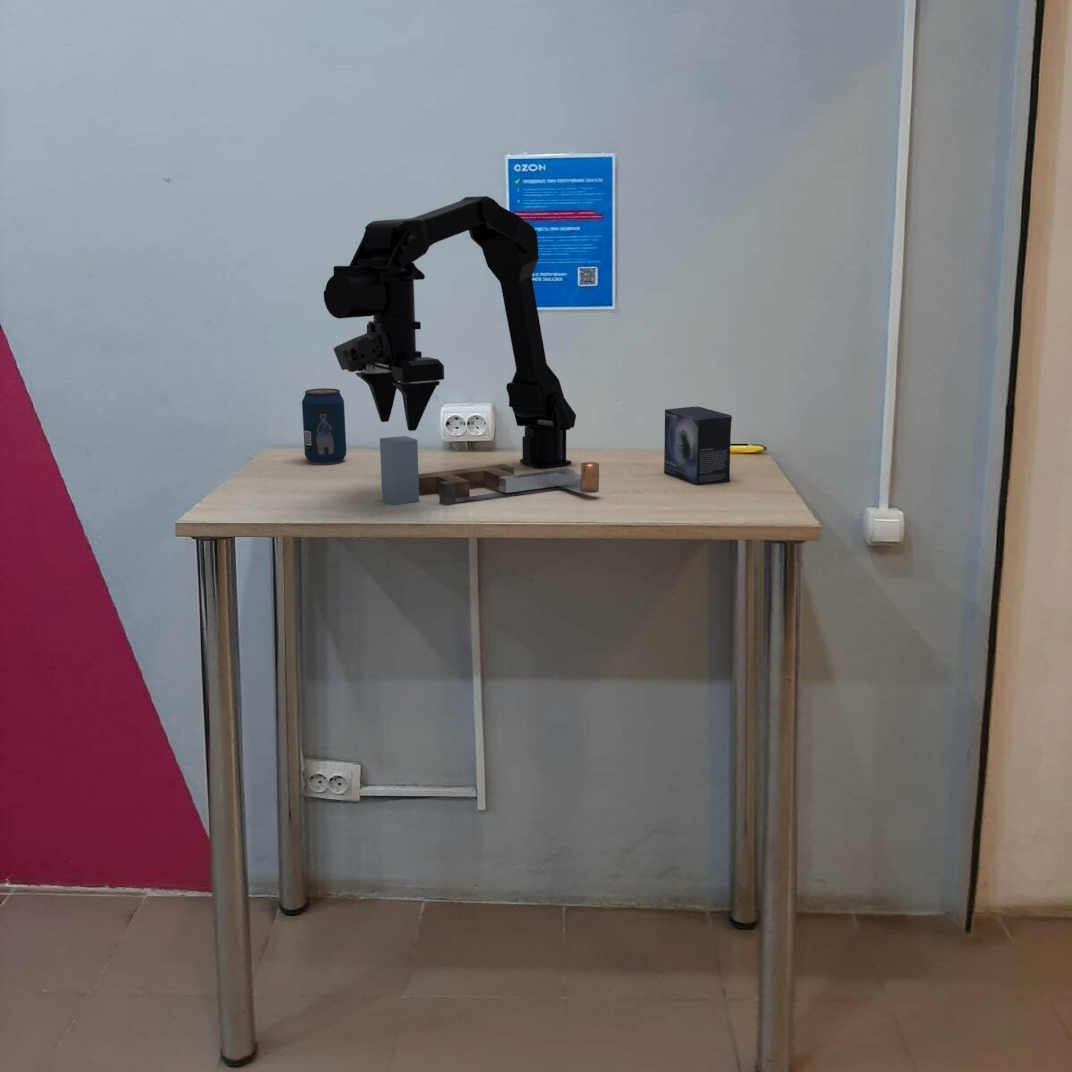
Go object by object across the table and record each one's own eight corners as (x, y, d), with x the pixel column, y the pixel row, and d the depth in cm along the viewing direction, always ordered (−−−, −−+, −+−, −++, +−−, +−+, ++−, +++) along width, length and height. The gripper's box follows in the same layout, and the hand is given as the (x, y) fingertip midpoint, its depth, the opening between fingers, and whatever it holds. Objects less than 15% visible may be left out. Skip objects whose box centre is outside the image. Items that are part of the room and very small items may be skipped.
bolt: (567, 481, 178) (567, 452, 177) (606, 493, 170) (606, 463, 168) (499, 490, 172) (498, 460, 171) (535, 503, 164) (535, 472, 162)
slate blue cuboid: (407, 496, 171) (405, 435, 169) (419, 501, 168) (417, 439, 166) (382, 499, 169) (379, 438, 167) (393, 505, 166) (391, 442, 164)
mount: (540, 474, 186) (540, 456, 185) (577, 487, 177) (577, 467, 176) (411, 491, 175) (410, 471, 174) (444, 505, 166) (444, 484, 165)
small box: (660, 473, 187) (662, 408, 184) (696, 470, 189) (697, 405, 187) (694, 486, 178) (696, 417, 175) (731, 482, 180) (734, 414, 177)
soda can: (332, 456, 202) (328, 386, 199) (354, 461, 198) (351, 390, 195) (297, 461, 198) (293, 390, 195) (319, 467, 193) (315, 394, 190)
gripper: (314, 312, 166) (320, 422, 170) (367, 321, 150) (372, 441, 154) (386, 309, 171) (390, 415, 175) (444, 317, 156) (447, 433, 160)
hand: (398, 426), depth 166 cm, fingers open, 9 cm apart
